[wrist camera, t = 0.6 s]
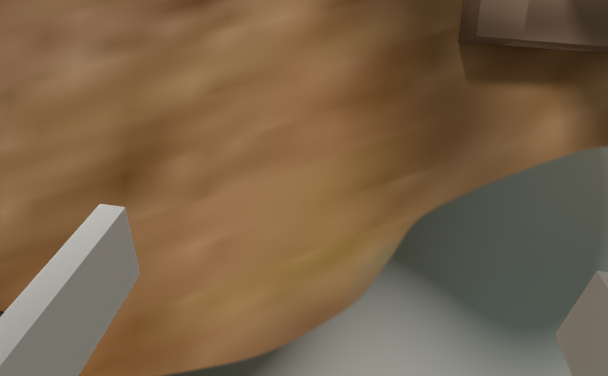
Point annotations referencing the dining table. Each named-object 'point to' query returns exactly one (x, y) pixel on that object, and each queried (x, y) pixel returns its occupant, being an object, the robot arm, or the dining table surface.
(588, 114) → the dining table surface
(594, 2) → the walnut pocket block
